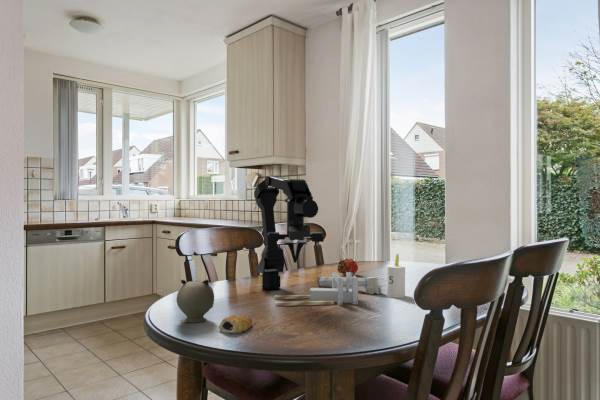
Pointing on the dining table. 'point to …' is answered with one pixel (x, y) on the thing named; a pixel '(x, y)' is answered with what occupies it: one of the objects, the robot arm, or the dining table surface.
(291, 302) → the guide rails
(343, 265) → the dragon fruit
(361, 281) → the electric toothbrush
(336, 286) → the slotted u bracket
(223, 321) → the pastry
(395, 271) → the candle
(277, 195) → the robot arm
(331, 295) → the gray rectangular bar
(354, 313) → the dining table surface
